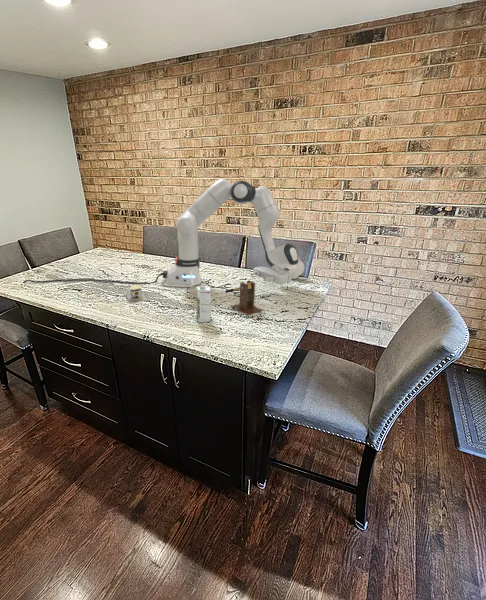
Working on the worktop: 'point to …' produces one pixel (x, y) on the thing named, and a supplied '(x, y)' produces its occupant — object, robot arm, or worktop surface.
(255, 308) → the bracket
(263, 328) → the worktop surface
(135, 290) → the stacked layers on plate
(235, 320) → the worktop surface
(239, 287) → the lever
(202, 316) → the syrup box
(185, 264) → the robot arm
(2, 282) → the worktop surface
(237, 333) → the worktop surface
